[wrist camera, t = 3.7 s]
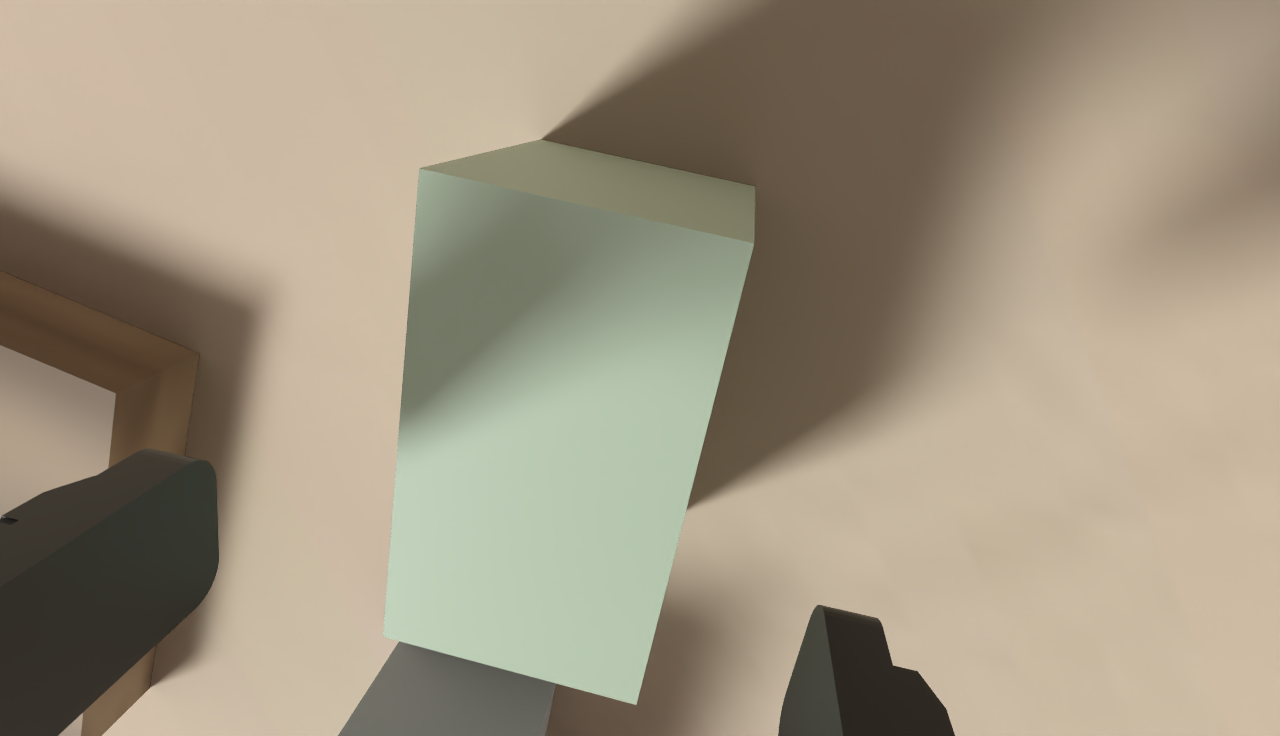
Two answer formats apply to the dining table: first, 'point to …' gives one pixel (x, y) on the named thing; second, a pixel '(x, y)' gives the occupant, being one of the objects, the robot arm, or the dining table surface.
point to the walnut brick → (84, 417)
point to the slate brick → (449, 699)
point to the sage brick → (557, 404)
